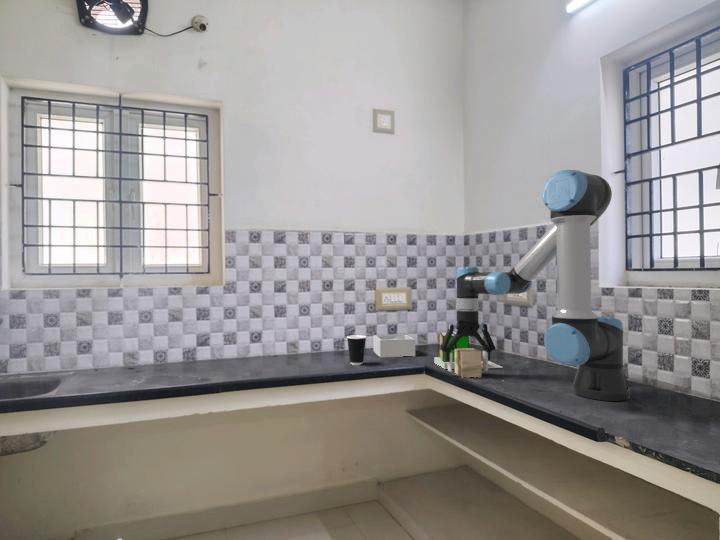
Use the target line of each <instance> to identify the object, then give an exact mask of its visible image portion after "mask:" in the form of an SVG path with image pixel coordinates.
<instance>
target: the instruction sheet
mask: <svg viewBox="0 0 720 540" xmlns="http://www.w3.org/2000/svg"><path fill="white" fill-rule="evenodd" d="M502 368H503V369H504V367H503V366H501V365H499V364H496V363H495V362H492V361H491V360H490V361H488V369H502ZM481 369H483V360H481Z"/></svg>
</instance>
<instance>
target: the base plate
mask: <svg viewBox="0 0 720 540" xmlns="http://www.w3.org/2000/svg"><path fill="white" fill-rule="evenodd" d="M433 359H434V360H433V362H434V363H435V365H436V364H437V365H436V366H438V365H439V366H441V367H442V368H444V369H448V362H443V361H442V359H441V358H440V356H438V357H437V356H435V357H434V358H433ZM439 366H438V367H439ZM441 367H440V368H441ZM442 368H441V369H442ZM444 369H443V370H444ZM452 369H454V370H455V362H452Z"/></svg>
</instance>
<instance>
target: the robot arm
mask: <svg viewBox="0 0 720 540" xmlns="http://www.w3.org/2000/svg"><path fill="white" fill-rule="evenodd" d="M612 193H613V192H612V187H611V186H610V184H609V182H608V181H607V180H606V179H605V178H604V177H601V176H599V175H597V174H591V173H587V172H583V171H580V170H577V169H564V170H559V171H557V172H555V173H554V174H552V175H551V176H550V177H549V179H548V180H547V181H546V182H545V184H544V186H543V188H542V192H541V194H542V195H541V197H542V198H541V199H542V202H543V204H544V206H545V207H546V208H547V209H549V210H550V218H549V219H550V221H551V222H552V223H553V224H552V225H551V226H550V228H549V229H547V230H546V232H545V233H543V235H542V236H541V237H540V238H539V240H537V242H536V243H535V244H533V246H532V247H531V248H530V249H529V250H528V251H527V252H526V254H525V255H524V256H523V257H522V258H521V259H520V260H519V261H518V262H517V263H516V264H515V265H514V266H513V267H512V268H511V269H510V270H509V271H507V272H506V271H503V272H502V271H501V272H500V271H491V272H490V271H489V272H487V271H486V272H480V271H479V268H478V267H477V266H459V267H457V270H456V309H457V311H456V324H452V323H448V324H447V331H446V332H447V333H446V335H445V337H444V340H443V342H442V344H441V346H440V345H439V351H440V350H442V351H444V352H445V361H446V362H448V370H447V371H448V372H450V373H453V370H452V353H451V352H450V351H451V350H452V349H453V347H454V346H455V345H456V343H457V342H458V341H459V339H460V338H462V336H464V337H467V336H469V337H470V338H471V337H474V338H475V339H476V340H477V342H478V343H479V344H480V346H481V347H482V348H483V350H482V361H483V368H482V370H484V371H489V368H488V361H490V362H491V352H492V351H495V350H496V346H495V344H494V342H493V339H492V336H491V335H490V332H489V329H488V324H487V323H484V322H482V323H481V324H480V323H479V319H480V318H479V311H478V310H479V295H493V296H500V295H501V296H502V295H507V294H509V295H510V294H511V295H514V294H515V295H519V294H520V295H521V294H524V293H527V292H528V291H529V290H531V287H532V282H533V280H534V279H535V278H536V277H537V275H539V274H540V273H541V271H543V270H544V269H545V268H546V267H547V266H548V265H549V264H550V263H551V262H552V261H553V260H554V259H555V258H556V282H557V284H556V287H557V288H556V290H557V291H556V293H557V294H556V295H557V296H556V297H557V310H556V311H555V312H554V313H553V314H551V325H550V327H549V328H548V329H547V330H546V331H545V333H544V337H543V341H544V342H543V344H544V347H545V350H546V352H547V353H548V355H549V356H550V357H551V358H552V359H553V360H554V361H555V362H557V363H558V364H561V365H563V366H576V367H577V366H578V367H577V370H576V373H575V376H574V380H573V382H572V385H571V386H572V388H571V391H572V392H573V393H574V394H575V395H578V396H580V397H583V398H587V399H592V400H597V401H609V402H622V401H623V402H624V401H629V400H630V399H631V387H629V384H628V381H627V378H626V375H625V372H624V328H623V322H622V321H621V320H620V318H619V319H618V318H615V317H606V316H598V315H597V314H596V313H594V312H593V310H592V270H591V269H592V267H591V266H592V265H591V264H592V263H591V258H592V257H591V255H592V254H591V253H592V252H591V251H592V250H591V227H592V226H593V225H594V224H595V223H596V222H597V220H599V219H600V217H602V215H603V214H604V213H605V212H606V210H607V209H608V207H609V205H610V203H611V200H612V195H613V194H612ZM479 329H480V330H481V331H482V334H483V336H484V338H485V340H484V339H483V338H482V336H481V334H480V333H479V332H478V331H479ZM455 330H457V332H455ZM454 332H455V333H456V334H455V336H454V338H453V339H452V340H451V342H450V343H449V340H450V338H451V336H452V334H453V333H454ZM448 343H449V344H448ZM447 345H448V346H447Z"/></svg>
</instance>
